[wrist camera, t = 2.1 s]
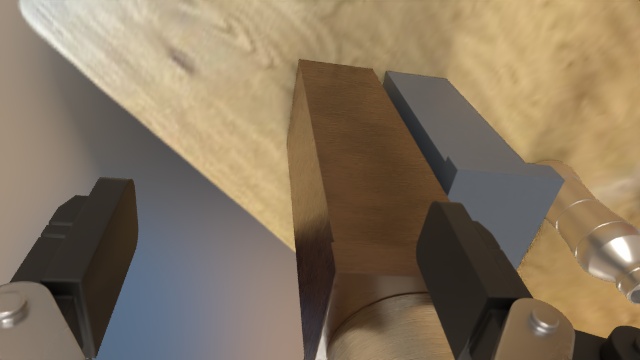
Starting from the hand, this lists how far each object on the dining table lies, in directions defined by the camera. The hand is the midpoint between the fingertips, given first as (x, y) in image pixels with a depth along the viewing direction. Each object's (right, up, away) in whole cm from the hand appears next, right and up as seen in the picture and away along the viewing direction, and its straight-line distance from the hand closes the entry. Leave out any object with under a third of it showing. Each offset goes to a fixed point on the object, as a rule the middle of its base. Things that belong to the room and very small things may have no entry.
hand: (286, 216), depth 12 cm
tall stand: (+2, +9, +38) cm, 39 cm away
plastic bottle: (+29, +2, +46) cm, 55 cm away
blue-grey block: (+11, +8, +39) cm, 42 cm away
